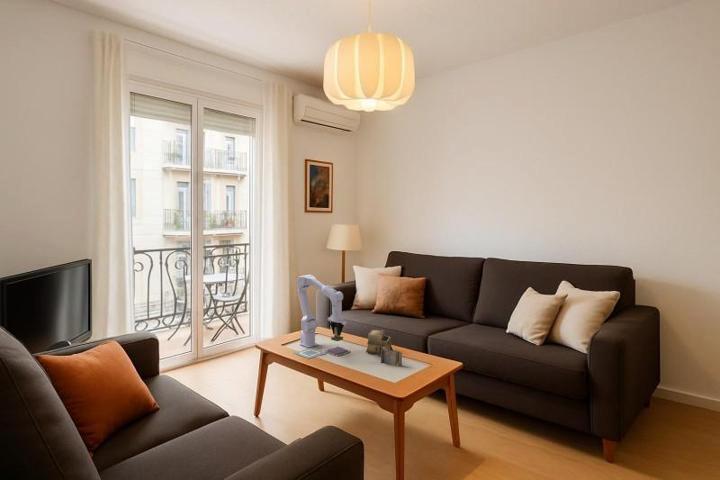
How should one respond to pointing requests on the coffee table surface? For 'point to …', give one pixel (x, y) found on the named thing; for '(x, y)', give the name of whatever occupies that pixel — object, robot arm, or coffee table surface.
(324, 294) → the robot arm
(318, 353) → the marked board
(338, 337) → the wooden stamp
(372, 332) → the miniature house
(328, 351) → the ink pad
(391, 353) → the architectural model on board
